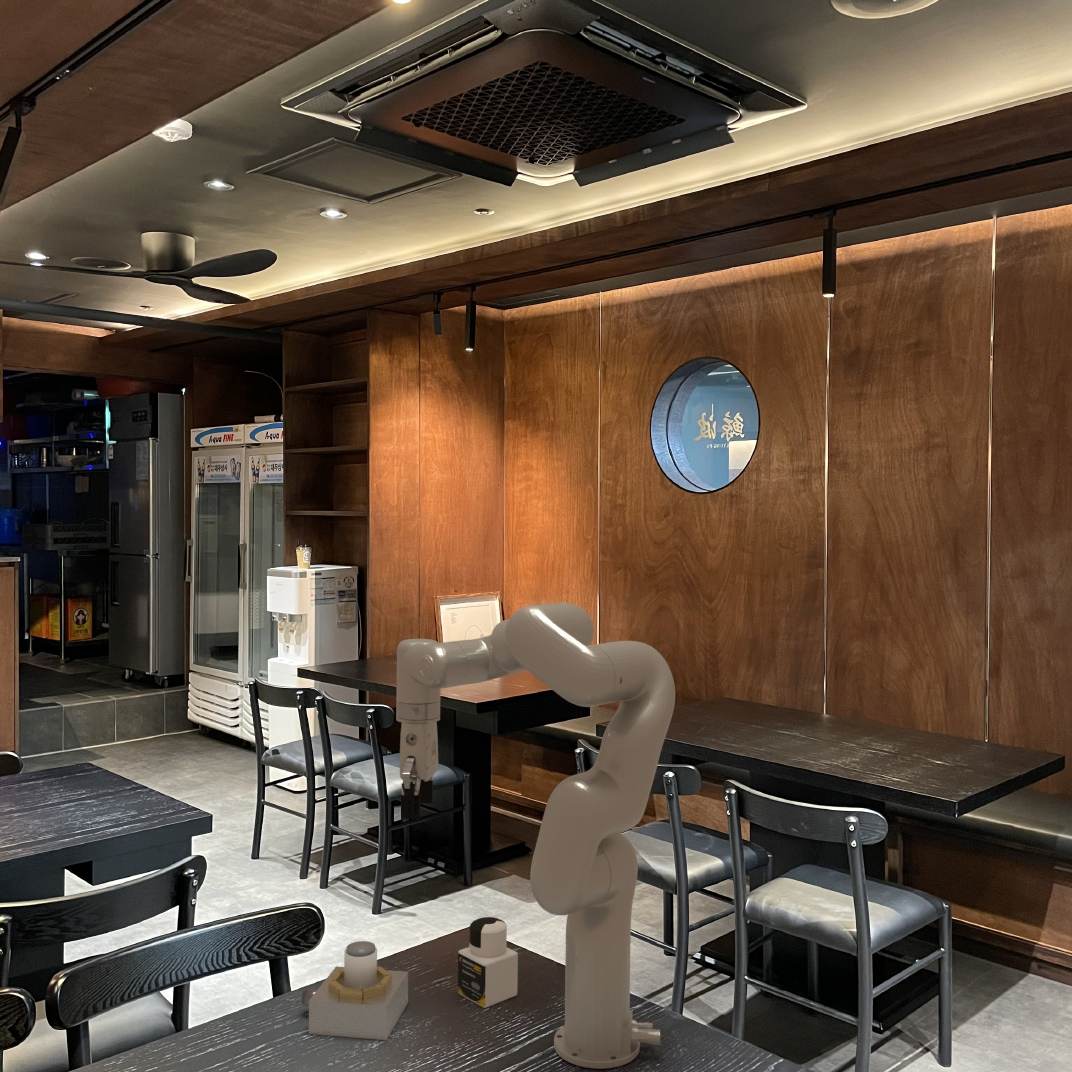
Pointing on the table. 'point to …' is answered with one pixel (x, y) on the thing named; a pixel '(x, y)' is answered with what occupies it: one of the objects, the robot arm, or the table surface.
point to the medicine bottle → (487, 964)
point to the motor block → (357, 1005)
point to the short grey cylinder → (360, 965)
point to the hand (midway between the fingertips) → (417, 810)
